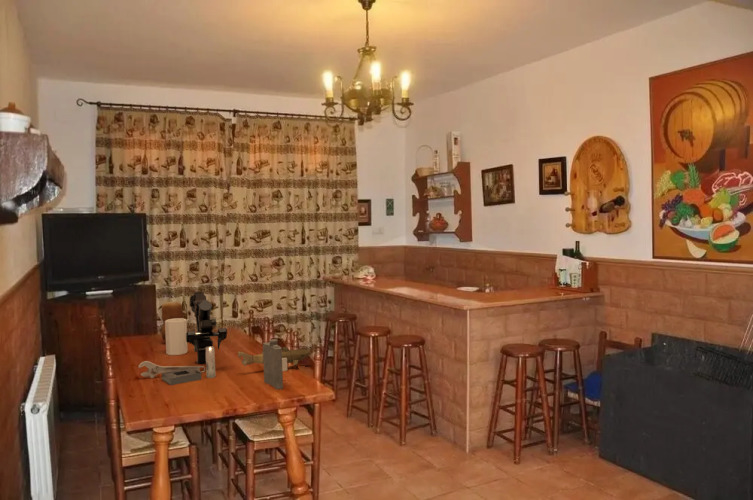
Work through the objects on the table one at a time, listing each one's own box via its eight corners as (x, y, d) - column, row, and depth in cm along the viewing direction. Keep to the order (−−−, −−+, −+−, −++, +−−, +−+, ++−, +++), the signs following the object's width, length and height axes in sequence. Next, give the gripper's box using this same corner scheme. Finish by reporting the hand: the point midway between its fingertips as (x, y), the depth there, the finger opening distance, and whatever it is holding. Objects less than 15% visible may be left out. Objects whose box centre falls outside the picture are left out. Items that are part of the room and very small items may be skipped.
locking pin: (205, 376, 276) (204, 347, 275) (213, 375, 279) (212, 345, 278) (208, 378, 273) (207, 348, 272) (216, 377, 275) (215, 347, 275)
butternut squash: (176, 339, 365) (175, 299, 363) (190, 341, 357) (188, 300, 355) (157, 343, 353) (155, 302, 352) (170, 346, 346) (168, 303, 344)
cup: (161, 354, 324) (160, 321, 323) (175, 350, 335) (174, 317, 334) (178, 356, 320) (176, 322, 319) (191, 351, 330) (190, 318, 329)
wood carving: (236, 372, 282) (235, 349, 281) (307, 364, 296) (306, 341, 295) (240, 377, 274) (239, 353, 273) (313, 368, 288) (312, 345, 287)
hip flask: (263, 381, 266) (261, 337, 265) (271, 380, 268) (270, 336, 267) (277, 390, 252) (275, 343, 251) (286, 388, 255) (284, 342, 253)
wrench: (204, 378, 285) (137, 379, 273) (204, 377, 287) (137, 378, 275) (206, 361, 285) (138, 361, 273) (205, 360, 287) (138, 360, 275)
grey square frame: (162, 379, 273) (161, 373, 273) (191, 374, 282) (191, 367, 281) (170, 385, 264) (170, 378, 263) (201, 379, 272) (201, 372, 272)
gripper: (185, 314, 281) (188, 342, 271) (225, 311, 288) (230, 338, 278) (184, 328, 288) (187, 355, 279) (224, 325, 295) (228, 351, 286)
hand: (208, 349), depth 280 cm, fingers open, 9 cm apart
